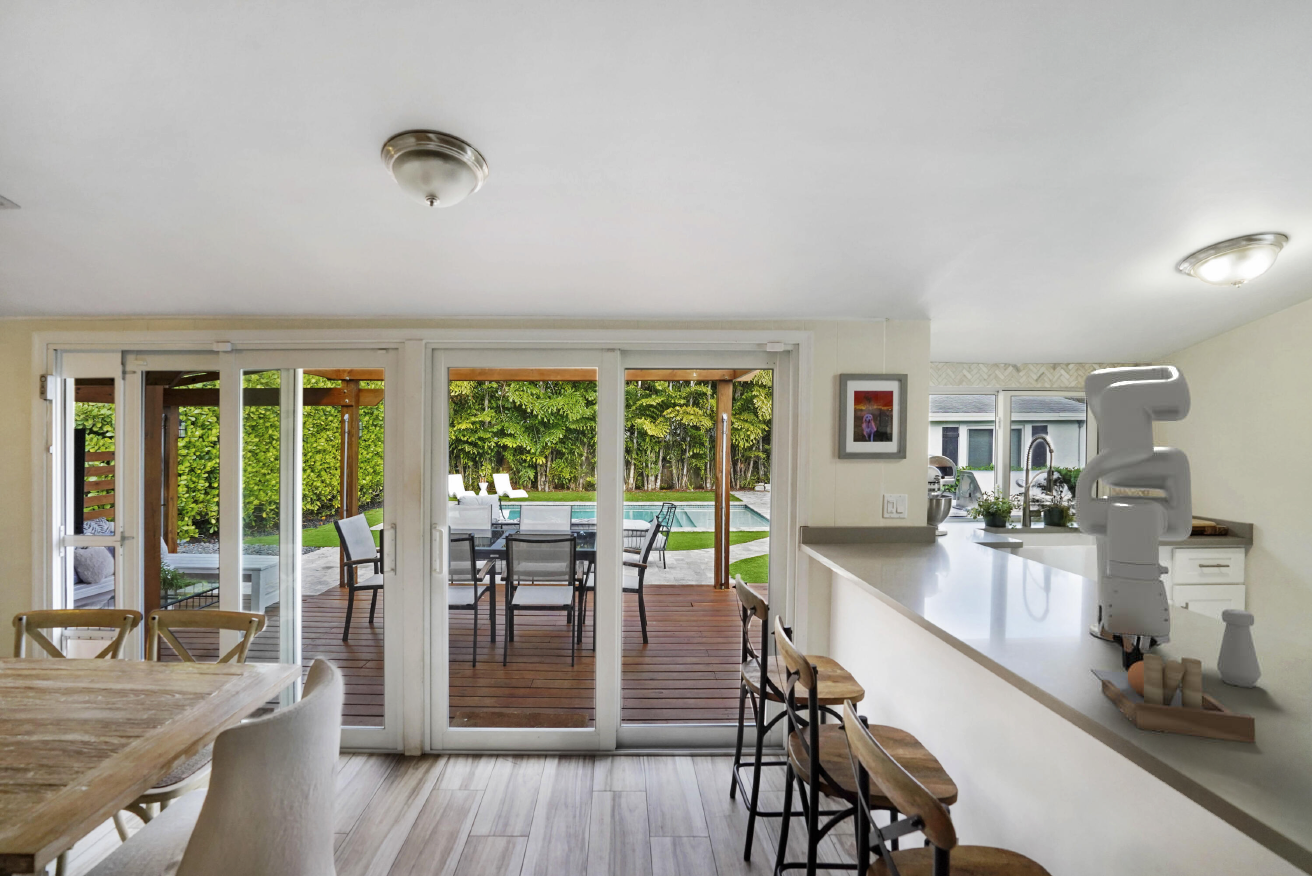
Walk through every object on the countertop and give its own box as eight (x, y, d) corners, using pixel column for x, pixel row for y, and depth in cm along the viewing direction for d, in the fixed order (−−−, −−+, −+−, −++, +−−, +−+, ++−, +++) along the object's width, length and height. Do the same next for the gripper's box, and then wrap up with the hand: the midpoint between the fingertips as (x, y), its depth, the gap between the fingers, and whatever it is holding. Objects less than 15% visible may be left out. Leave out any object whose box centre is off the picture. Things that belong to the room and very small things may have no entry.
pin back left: (1178, 713, 100) (1178, 656, 100) (1197, 715, 99) (1196, 658, 99) (1186, 719, 98) (1185, 661, 98) (1205, 722, 97) (1204, 663, 97)
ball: (1134, 670, 104) (1134, 703, 105) (1178, 673, 102) (1178, 707, 103) (1122, 653, 110) (1122, 685, 110) (1164, 655, 108) (1164, 688, 108)
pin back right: (1141, 709, 101) (1140, 653, 102) (1159, 711, 101) (1158, 655, 101) (1147, 715, 99) (1147, 658, 99) (1166, 717, 98) (1165, 659, 98)
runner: (1090, 670, 119) (1090, 669, 119) (1160, 677, 116) (1160, 676, 116) (1148, 728, 94) (1148, 727, 94) (1239, 739, 91) (1239, 738, 91)
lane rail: (1102, 690, 109) (1101, 670, 109) (1200, 701, 105) (1200, 680, 105) (1138, 728, 94) (1138, 705, 94) (1254, 742, 90) (1254, 718, 90)
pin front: (1149, 694, 104) (1163, 659, 99) (1167, 696, 103) (1181, 660, 99) (1155, 707, 102) (1168, 671, 98) (1173, 709, 101) (1187, 673, 97)
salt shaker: (1269, 690, 109) (1268, 615, 109) (1231, 688, 110) (1230, 614, 111) (1245, 678, 115) (1244, 607, 115) (1209, 676, 116) (1208, 605, 116)
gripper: (1173, 570, 115) (1174, 670, 115) (1078, 565, 120) (1079, 661, 120) (1193, 578, 108) (1194, 685, 108) (1091, 572, 113) (1092, 674, 112)
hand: (1133, 672), depth 114 cm, fingers closed
